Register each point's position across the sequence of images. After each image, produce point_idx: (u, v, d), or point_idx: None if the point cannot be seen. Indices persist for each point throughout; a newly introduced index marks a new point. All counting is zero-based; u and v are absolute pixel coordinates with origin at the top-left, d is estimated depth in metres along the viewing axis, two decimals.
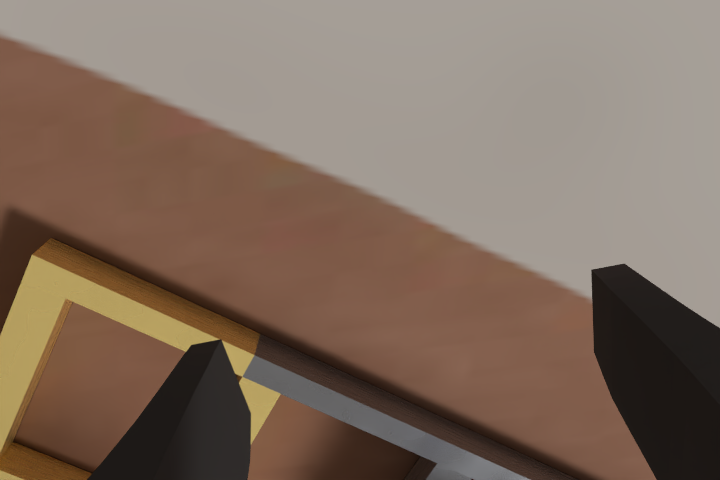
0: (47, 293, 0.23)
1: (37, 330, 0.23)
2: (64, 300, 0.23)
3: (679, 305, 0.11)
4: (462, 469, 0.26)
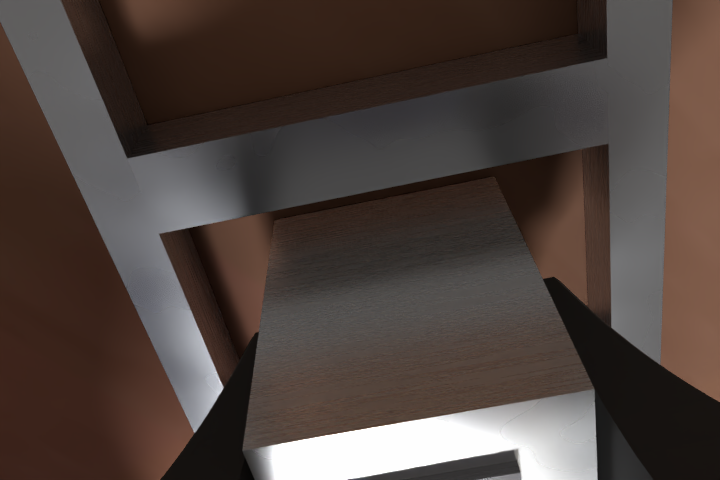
0: None
1: None
2: None
3: (595, 320, 0.11)
4: (620, 112, 0.11)
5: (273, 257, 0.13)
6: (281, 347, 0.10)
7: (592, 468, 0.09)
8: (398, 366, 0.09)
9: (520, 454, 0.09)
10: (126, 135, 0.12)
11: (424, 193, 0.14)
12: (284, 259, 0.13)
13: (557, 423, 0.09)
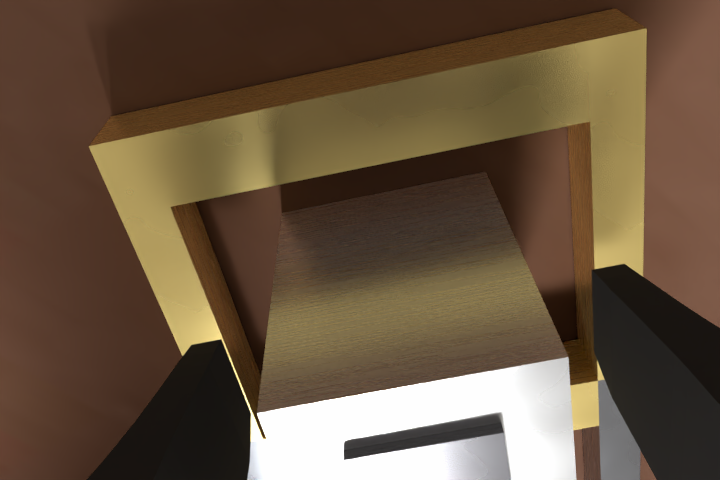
0: (582, 92, 0.12)
1: (499, 117, 0.12)
2: (584, 121, 0.12)
3: (678, 305, 0.11)
4: None
5: (281, 245, 0.14)
6: (290, 325, 0.11)
7: (568, 430, 0.10)
8: (396, 340, 0.11)
9: (504, 417, 0.10)
10: None
11: (420, 187, 0.15)
12: (291, 247, 0.14)
13: (535, 388, 0.10)
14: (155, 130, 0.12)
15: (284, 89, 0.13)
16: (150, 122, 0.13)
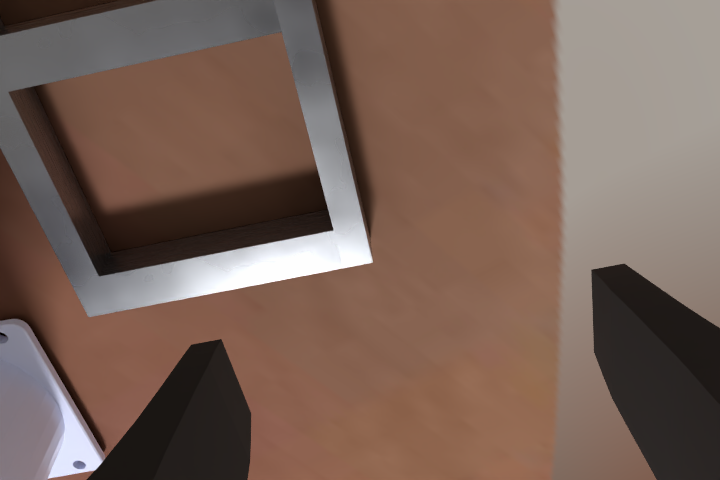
0: None
1: None
2: None
3: (678, 305, 0.11)
4: (283, 10, 0.19)
5: None
6: None
7: None
8: None
9: None
10: None
11: None
12: None
13: None
14: None
15: None
16: None
